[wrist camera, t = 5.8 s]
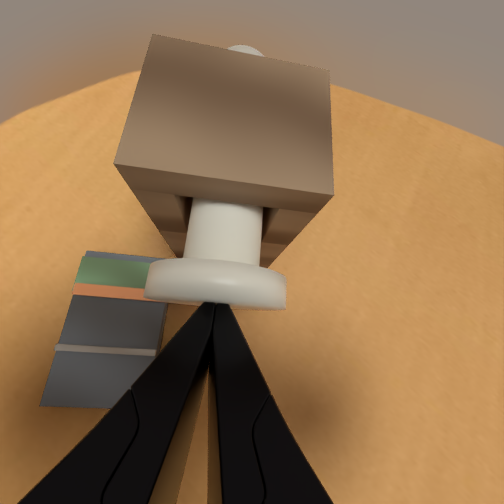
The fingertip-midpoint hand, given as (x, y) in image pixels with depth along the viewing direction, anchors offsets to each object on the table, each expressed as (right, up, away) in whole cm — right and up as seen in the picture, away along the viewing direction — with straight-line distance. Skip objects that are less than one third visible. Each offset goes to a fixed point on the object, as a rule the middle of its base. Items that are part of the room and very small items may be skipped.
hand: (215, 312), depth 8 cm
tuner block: (-3, 0, +7) cm, 7 cm away
